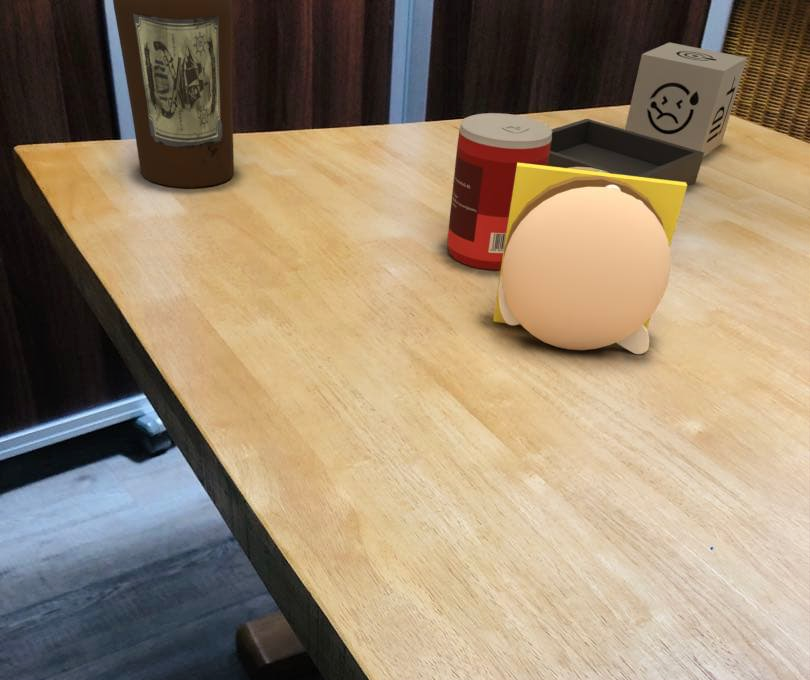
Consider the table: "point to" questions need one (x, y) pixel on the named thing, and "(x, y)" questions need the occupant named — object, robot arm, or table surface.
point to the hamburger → (586, 255)
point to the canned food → (490, 182)
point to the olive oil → (180, 88)
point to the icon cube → (685, 95)
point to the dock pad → (622, 152)
